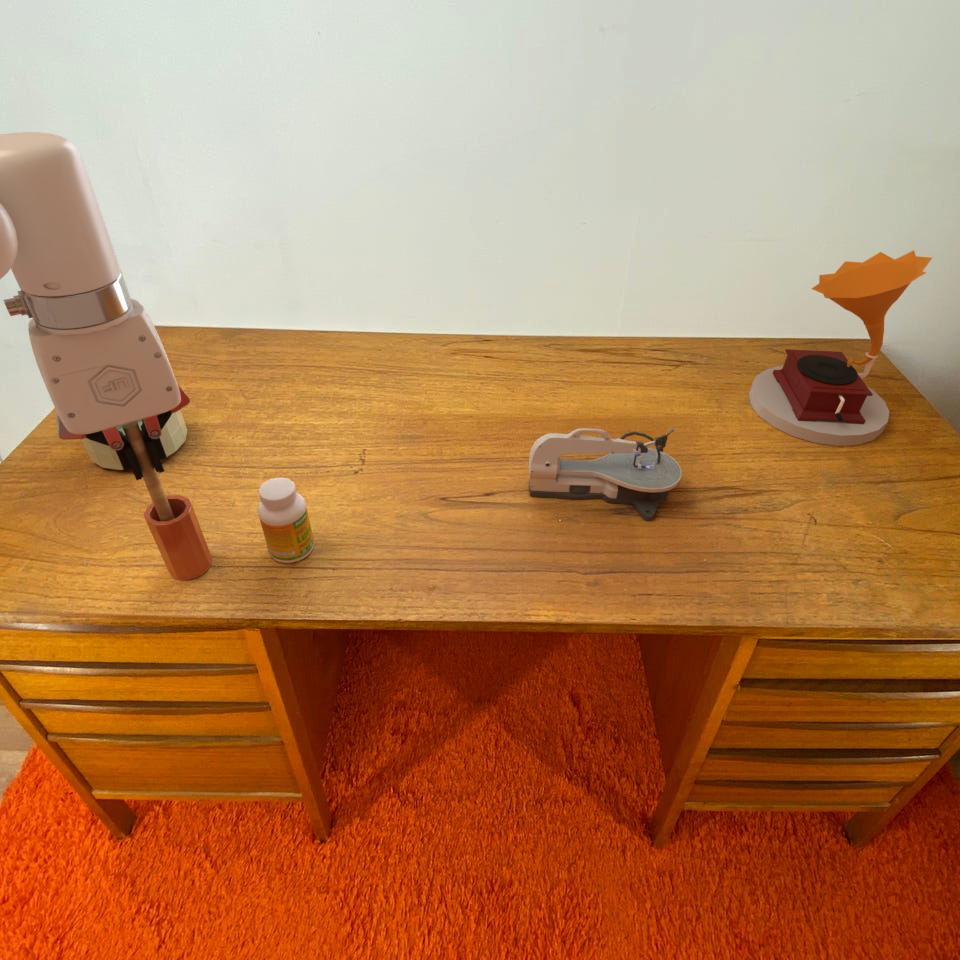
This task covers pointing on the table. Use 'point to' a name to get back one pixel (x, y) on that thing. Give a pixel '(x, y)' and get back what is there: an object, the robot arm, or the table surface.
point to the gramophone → (838, 361)
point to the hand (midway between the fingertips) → (147, 468)
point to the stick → (148, 471)
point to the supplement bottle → (284, 521)
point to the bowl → (170, 436)
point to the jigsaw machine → (603, 469)
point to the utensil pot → (180, 539)
